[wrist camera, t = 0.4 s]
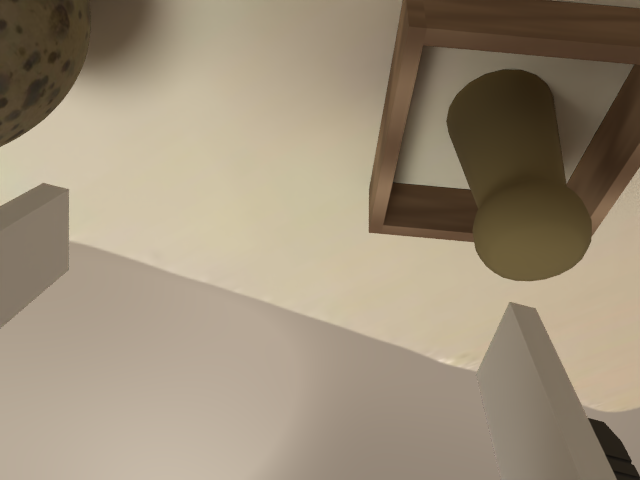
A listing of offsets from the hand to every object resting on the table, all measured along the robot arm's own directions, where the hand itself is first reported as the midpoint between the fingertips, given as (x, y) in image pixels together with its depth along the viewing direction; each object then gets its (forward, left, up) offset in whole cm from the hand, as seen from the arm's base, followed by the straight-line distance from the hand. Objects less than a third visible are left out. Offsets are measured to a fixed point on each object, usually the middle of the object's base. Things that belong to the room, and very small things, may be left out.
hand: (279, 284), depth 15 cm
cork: (+5, +11, -17) cm, 21 cm away
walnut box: (+5, +11, -17) cm, 21 cm away
